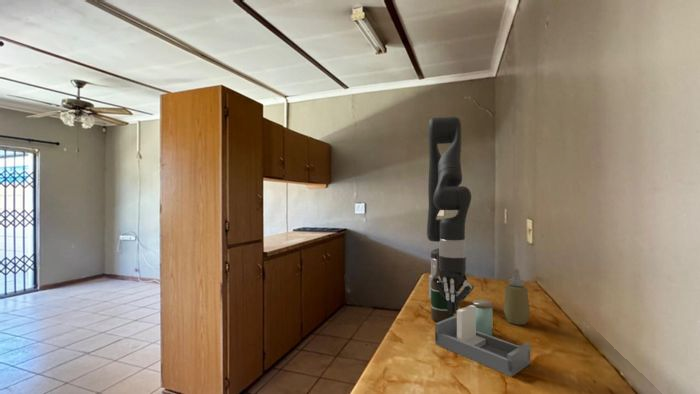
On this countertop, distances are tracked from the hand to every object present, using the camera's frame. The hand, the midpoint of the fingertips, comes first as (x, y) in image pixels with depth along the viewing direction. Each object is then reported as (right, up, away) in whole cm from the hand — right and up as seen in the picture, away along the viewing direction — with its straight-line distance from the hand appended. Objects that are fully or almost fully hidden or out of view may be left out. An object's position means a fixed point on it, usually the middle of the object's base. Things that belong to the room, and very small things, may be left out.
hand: (452, 313), depth 96 cm
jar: (+11, -9, +6) cm, 15 cm away
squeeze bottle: (+27, -9, +15) cm, 32 cm away
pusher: (+4, -7, -5) cm, 9 cm away
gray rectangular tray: (+5, -9, -7) cm, 12 cm away
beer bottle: (+2, -9, +17) cm, 20 cm away
